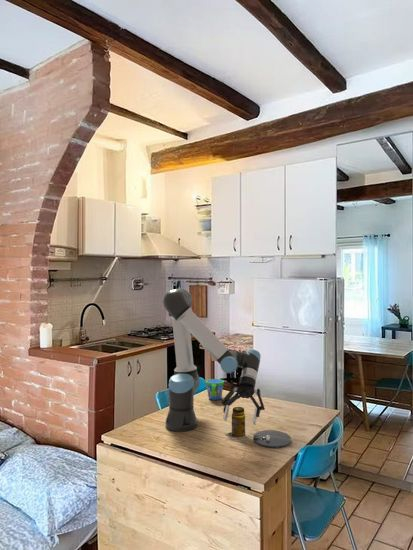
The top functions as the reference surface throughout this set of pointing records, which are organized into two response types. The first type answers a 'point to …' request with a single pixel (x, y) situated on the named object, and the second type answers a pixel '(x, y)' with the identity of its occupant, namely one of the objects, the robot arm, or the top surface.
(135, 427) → the top surface
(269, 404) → the top surface
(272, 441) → the grey round disc
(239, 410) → the condiment
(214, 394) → the snack cup
